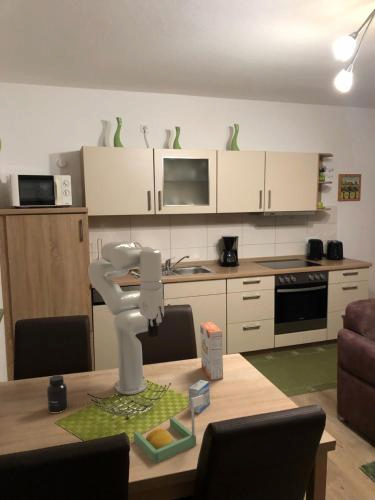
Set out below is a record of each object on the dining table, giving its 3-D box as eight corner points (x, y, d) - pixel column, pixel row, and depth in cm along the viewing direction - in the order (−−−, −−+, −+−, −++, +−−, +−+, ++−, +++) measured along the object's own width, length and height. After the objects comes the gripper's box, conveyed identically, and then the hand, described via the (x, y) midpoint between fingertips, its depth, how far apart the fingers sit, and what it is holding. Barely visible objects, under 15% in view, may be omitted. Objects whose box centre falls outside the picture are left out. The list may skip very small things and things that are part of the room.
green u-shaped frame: (134, 440, 121) (132, 395, 119) (181, 421, 131) (180, 379, 129) (154, 463, 110) (153, 413, 108) (205, 440, 120) (204, 394, 118)
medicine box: (199, 414, 135) (198, 390, 134) (188, 410, 137) (188, 387, 136) (210, 404, 142) (209, 381, 141) (199, 401, 144) (199, 379, 143)
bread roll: (152, 458, 113) (151, 445, 112) (143, 441, 121) (142, 429, 120) (178, 450, 116) (178, 437, 115) (168, 434, 124) (167, 422, 124)
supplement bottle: (49, 416, 136) (47, 383, 135) (46, 407, 142) (44, 376, 141) (69, 410, 139) (67, 379, 138) (66, 402, 146) (64, 372, 144)
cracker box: (200, 367, 174) (199, 322, 171) (213, 365, 175) (212, 321, 173) (209, 381, 160) (208, 332, 158) (223, 379, 162) (222, 330, 159)
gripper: (132, 283, 139) (134, 332, 141) (152, 290, 126) (154, 344, 128) (150, 280, 143) (152, 328, 145) (171, 286, 130) (173, 339, 133)
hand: (153, 335), depth 137 cm, fingers closed
